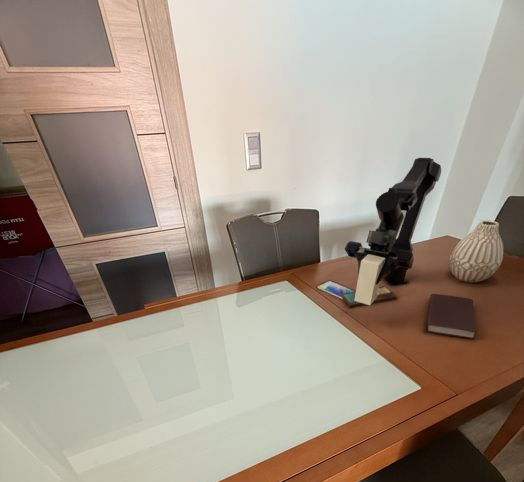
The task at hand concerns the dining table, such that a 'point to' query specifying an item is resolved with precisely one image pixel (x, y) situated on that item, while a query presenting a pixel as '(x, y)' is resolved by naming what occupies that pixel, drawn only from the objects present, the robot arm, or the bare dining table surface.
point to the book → (451, 316)
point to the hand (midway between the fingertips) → (367, 282)
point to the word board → (381, 296)
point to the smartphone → (334, 288)
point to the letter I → (368, 279)
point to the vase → (478, 253)
